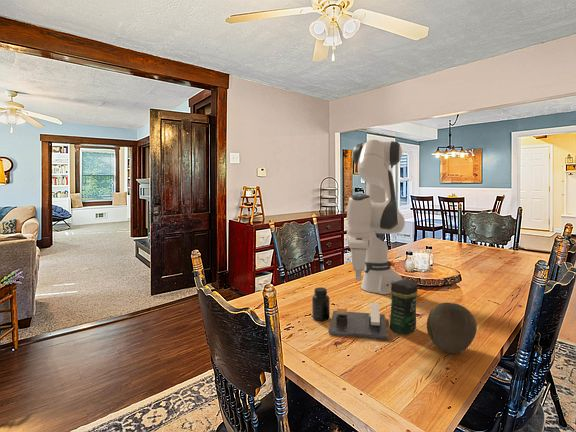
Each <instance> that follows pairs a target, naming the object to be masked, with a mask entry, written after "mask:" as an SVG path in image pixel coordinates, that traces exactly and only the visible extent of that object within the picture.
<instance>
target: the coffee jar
mask: <svg viewBox="0 0 576 432" xmlns="http://www.w3.org/2000/svg"><path fill="white" fill-rule="evenodd" d="M390 294H391V295H390V296H391V304H390V318H389V329H390V330H391V331H392V332H394V333H395V334H397V335H404V336H406V335H407V336H408V335H410V334H412V333H414V332H415V331H416V329H417V297H418V283H417V281H415V280H414V279H409V278H406V277H405V278H402V280H399V281H396V282H394V283H392V285H391V293H390Z"/></svg>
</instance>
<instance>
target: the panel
mask: <svg viewBox="0 0 576 432" xmlns="http://www.w3.org/2000/svg"><path fill="white" fill-rule="evenodd" d="M336 312H337V310H333V312H332V314H331V315H332V317H331V321H330V324H329V329H328V335H329V336H335V337H336V336H337V337H347V338H348V337H349V338H360V339H369V340H370V339H371V340H380V341H388V339H389V337H388V336H389V335H388V330H387V329H388V328H387V323H386V315H385V314H384V313H383V314H381V313H379V315H381V318H380V326H378V325H371V317H369V314H371V312H370V313H368V312H357V311H356V312H355V311H347V312H346V313H348V315H336Z"/></svg>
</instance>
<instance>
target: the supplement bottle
mask: <svg viewBox="0 0 576 432" xmlns="http://www.w3.org/2000/svg"><path fill="white" fill-rule="evenodd" d="M313 292H314V295H313V296H312V298H311V305H312V306H311V310H312V311H311V312H312V313H311V314H312V319H313V321H315V322H321V323H322V322H327V321H329V320H330V317H331V315H330V313H331V312H330V310H331V309H330V296H329V295H328V291H327V288H326V287H316V288H314V291H313Z"/></svg>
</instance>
